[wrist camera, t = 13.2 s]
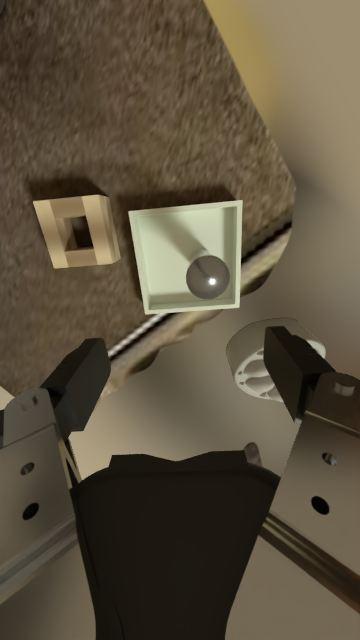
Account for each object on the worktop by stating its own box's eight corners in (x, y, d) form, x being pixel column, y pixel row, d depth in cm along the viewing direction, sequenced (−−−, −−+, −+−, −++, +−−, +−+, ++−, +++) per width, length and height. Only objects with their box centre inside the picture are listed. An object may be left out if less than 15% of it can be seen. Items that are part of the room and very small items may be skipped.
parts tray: (133, 211, 30) (128, 211, 28) (237, 201, 30) (242, 200, 27) (148, 306, 36) (145, 314, 34) (235, 300, 36) (239, 307, 33)
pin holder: (51, 203, 30) (32, 201, 27) (108, 197, 30) (98, 194, 26) (68, 262, 34) (54, 268, 30) (120, 258, 33) (112, 263, 30)
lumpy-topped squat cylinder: (301, 365, 40) (328, 400, 33) (229, 375, 42) (239, 412, 34) (302, 313, 36) (334, 340, 28) (222, 327, 38) (231, 356, 30)
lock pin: (185, 244, 32) (184, 258, 22) (216, 242, 31) (230, 254, 21) (187, 275, 33) (187, 300, 24) (216, 273, 33) (229, 297, 23)
